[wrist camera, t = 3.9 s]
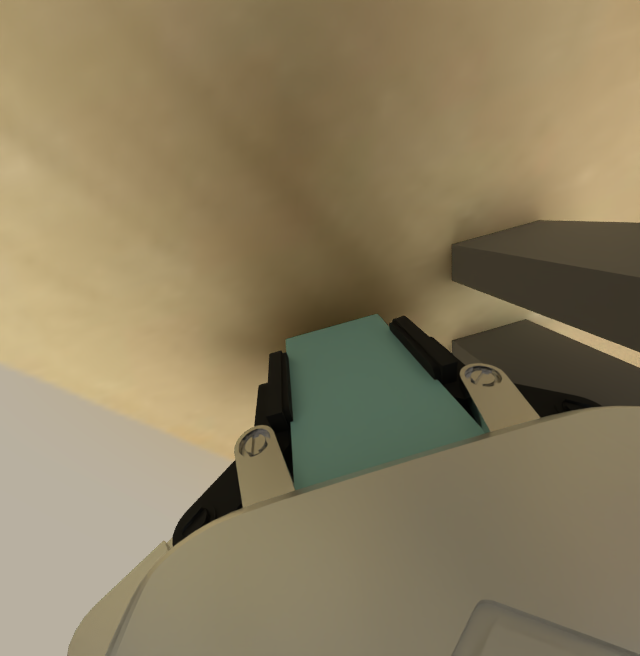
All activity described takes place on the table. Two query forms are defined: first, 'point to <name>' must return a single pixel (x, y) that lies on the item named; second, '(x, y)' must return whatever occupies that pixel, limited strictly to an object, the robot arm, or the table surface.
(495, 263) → the domino
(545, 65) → the table surface
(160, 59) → the table surface
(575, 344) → the domino
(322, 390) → the domino
